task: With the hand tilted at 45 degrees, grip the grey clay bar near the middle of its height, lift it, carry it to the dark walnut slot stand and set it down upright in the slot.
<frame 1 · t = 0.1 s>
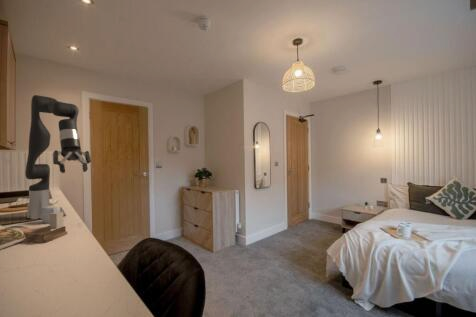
hand: (74, 172, 102), 31 cm above the counter, tool tilted 20°, fingers open, 8 cm apart
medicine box: (51, 222, 126), on the counter
clay bar: (56, 227, 117), on the counter
slot stand: (46, 237, 103), on the counter
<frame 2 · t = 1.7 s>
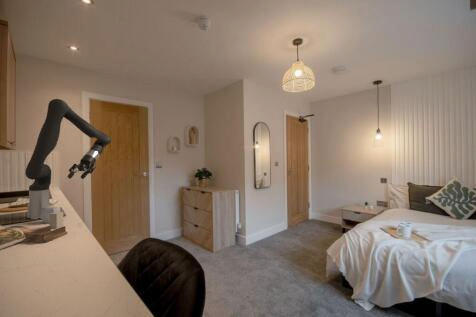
hand: (75, 178, 129), 25 cm above the counter, tool tilted 45°, fingers open, 8 cm apart
nothing on the counter moved.
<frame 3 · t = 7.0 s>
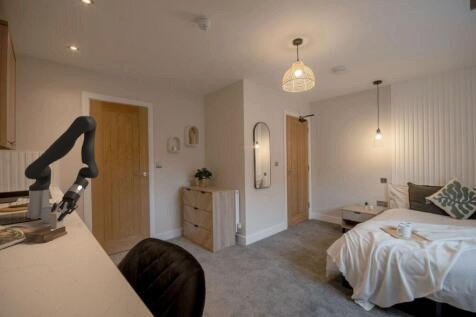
hand: (55, 220, 116), 4 cm above the counter, tool tilted 45°, fingers closed on clay bar, 4 cm apart
clay bar: (56, 227, 117), on the counter, touching gripper
everything else where it was.
when the fingers open (6 cm above the counter, at t = 13.8 s): clay bar stays where it is, resting on slot stand.
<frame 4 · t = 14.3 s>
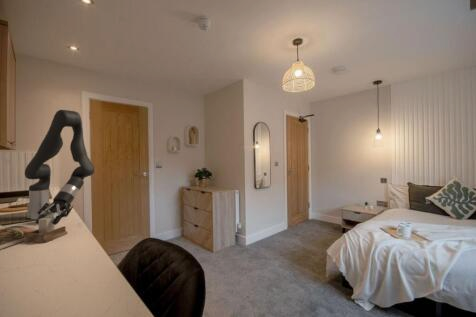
hand: (45, 223, 102), 7 cm above the counter, tool tilted 45°, fingers open, 8 cm apart
clay bar: (46, 234, 103), point 1 cm above the counter, touching slot stand
everything else where it was.
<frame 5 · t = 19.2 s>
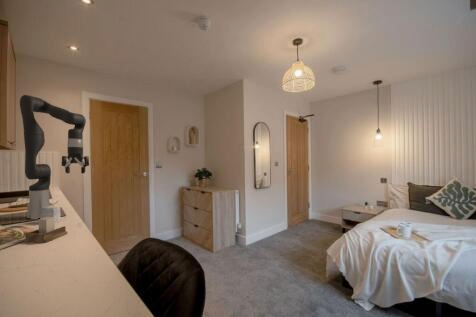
hand: (75, 173, 130), 28 cm above the counter, tool pointing down, fingers open, 8 cm apart
nothing on the counter moved.
at the end: clay bar 0.2 cm off-centre on the slot stand, point 1.2 cm above the slot stand's base; clay bar tilted 0°; the gripper is holding nothing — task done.
